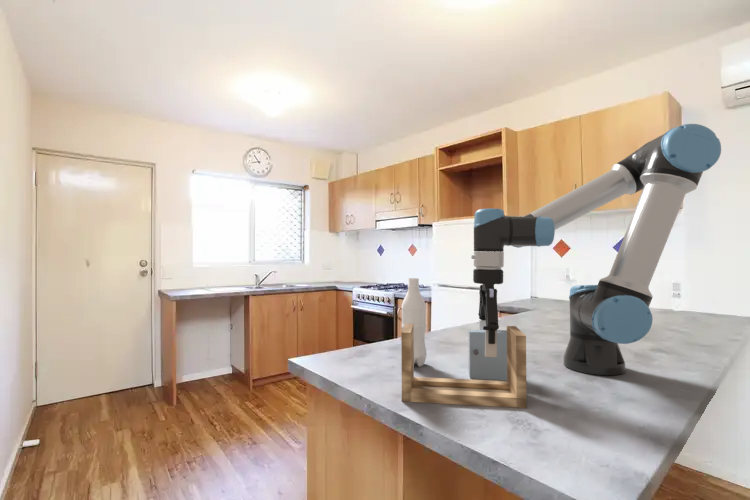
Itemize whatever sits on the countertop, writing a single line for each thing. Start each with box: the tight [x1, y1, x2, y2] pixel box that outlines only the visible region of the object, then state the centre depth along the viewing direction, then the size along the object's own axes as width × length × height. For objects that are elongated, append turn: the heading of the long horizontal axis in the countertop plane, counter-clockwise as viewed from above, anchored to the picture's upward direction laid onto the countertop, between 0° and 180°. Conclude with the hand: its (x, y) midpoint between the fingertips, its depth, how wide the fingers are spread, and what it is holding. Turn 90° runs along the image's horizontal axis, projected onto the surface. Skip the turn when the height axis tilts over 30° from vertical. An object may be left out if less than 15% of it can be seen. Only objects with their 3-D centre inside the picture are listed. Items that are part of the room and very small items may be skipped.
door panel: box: [468, 329, 507, 381], centre depth 102 cm, size 10×4×12 cm, turn 81°
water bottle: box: [400, 277, 427, 368], centre depth 114 cm, size 7×7×25 cm
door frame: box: [400, 324, 528, 409], centre depth 89 cm, size 26×11×15 cm, turn 81°
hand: (487, 350), depth 102 cm, fingers open, 13 cm apart
